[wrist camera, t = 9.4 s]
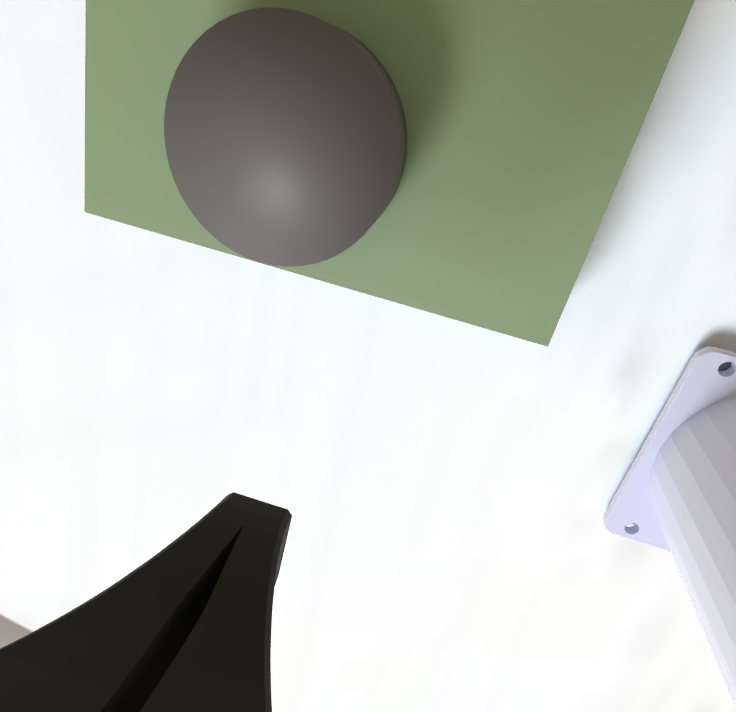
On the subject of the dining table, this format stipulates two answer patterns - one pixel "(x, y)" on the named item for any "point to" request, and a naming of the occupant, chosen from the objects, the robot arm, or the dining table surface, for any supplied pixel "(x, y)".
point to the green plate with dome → (378, 137)
